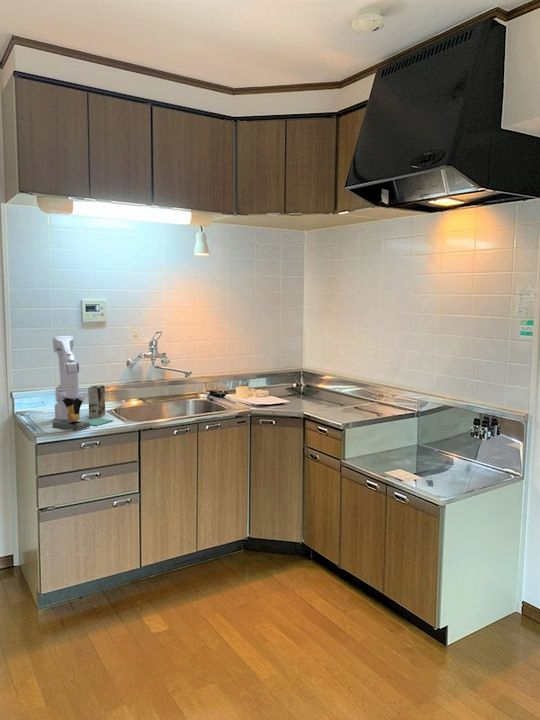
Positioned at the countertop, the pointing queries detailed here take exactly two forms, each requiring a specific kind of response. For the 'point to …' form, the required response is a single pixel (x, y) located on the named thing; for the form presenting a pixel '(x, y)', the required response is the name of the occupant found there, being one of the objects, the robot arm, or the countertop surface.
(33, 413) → the countertop surface
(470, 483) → the countertop surface
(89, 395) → the coffee box
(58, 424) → the rail plate
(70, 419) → the peg
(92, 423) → the mat
